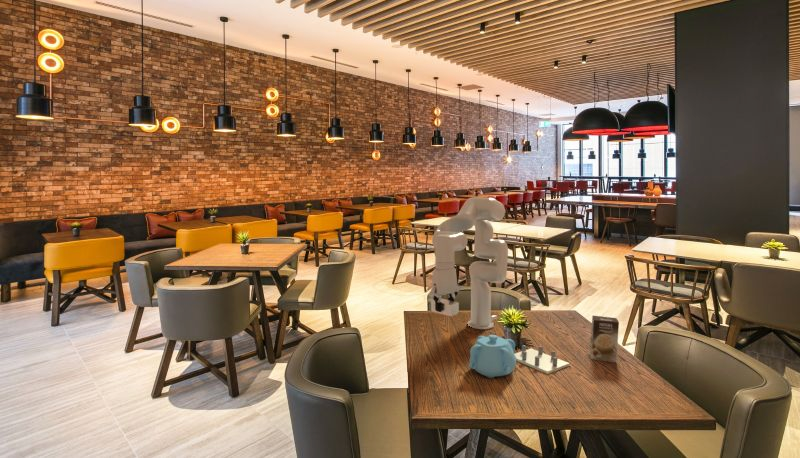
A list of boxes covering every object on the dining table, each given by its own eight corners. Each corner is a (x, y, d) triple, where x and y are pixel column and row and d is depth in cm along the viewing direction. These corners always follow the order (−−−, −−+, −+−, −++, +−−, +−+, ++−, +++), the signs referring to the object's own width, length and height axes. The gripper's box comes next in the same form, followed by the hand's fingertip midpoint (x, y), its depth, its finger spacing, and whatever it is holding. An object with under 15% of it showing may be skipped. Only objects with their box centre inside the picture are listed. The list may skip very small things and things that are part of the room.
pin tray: (531, 350, 179) (531, 341, 179) (569, 365, 164) (569, 355, 164) (509, 357, 172) (509, 348, 171) (547, 374, 157) (547, 363, 157)
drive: (438, 308, 179) (438, 297, 178) (458, 313, 172) (458, 302, 172) (431, 311, 175) (431, 300, 175) (451, 316, 169) (451, 305, 168)
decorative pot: (508, 385, 149) (509, 347, 147) (464, 375, 156) (464, 339, 155) (519, 367, 163) (520, 332, 161) (478, 359, 170) (479, 325, 169)
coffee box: (591, 359, 170) (592, 319, 168) (589, 353, 176) (591, 315, 174) (617, 362, 167) (619, 322, 165) (614, 356, 173) (616, 317, 171)
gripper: (455, 261, 179) (454, 303, 181) (421, 266, 170) (421, 311, 172) (467, 264, 173) (467, 308, 175) (433, 270, 164) (433, 316, 166)
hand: (444, 309), depth 174 cm, fingers closed on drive, 5 cm apart
